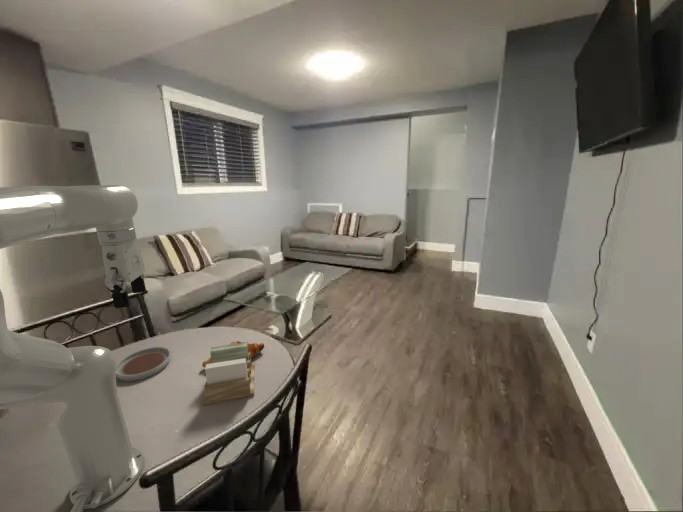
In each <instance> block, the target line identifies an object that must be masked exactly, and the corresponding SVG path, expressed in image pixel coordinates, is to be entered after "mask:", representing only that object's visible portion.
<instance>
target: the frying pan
mask: <svg viewBox="0 0 683 512" xmlns="http://www.w3.org/2000/svg"><path fill="white" fill-rule="evenodd" d="M172 356H173V354H172V351H171V350H170V349H169V348H167V347H164V346H154V347H153V346H152V347H147V348H143V349H140V350H137V351H134V352H132V353H129V354H128V355H126V356H124V357H123V358H121V359H120V360H119V361H118V362H116V379H118V380H121V381H122V382H123V381H124V382H134V381H140V380H143V379H146V378H150V377H151V376H154V375H157V374H158V373H159V372H161V371H163V370H164V369H165V368H166V367H168V366H169V364H170V362H171V359H172Z"/></svg>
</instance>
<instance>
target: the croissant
mask: <svg viewBox="0 0 683 512" xmlns="http://www.w3.org/2000/svg"><path fill="white" fill-rule="evenodd" d="M238 343H245V341H244V342H242V341H238V340H235V341H232V342H230V343H229V344H228V345H231V344H238ZM247 345H248V353H249V352H250V353H251V359H253V358H254V357H255V356H257V355H259V354H260V353H261V352H262V351H263V350H264V349H265V344H264V343H259V344H258V343H256V342H255V343H254V342H252V343H249V342H247ZM211 363H212V360H211V356H209V358H208V359H206V360H204V361H203V362H202V363H201V366H202V368H204V369H205V367H206V364H211Z"/></svg>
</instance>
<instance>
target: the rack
mask: <svg viewBox="0 0 683 512" xmlns="http://www.w3.org/2000/svg"><path fill="white" fill-rule="evenodd" d="M247 343H248V342H246V341H244V343H243V342H241V343H238V344H231V343H230V344H231V345H229V344H225V345H221V346H220V345H219V346H214V347H213V346H212V347H210V350H209V351H210V353H209V354H210V357H211V360H212V363H218V362H224V361H231V360H237V359H243V358H246V364H247V372H248V378H244V379H238V380H233V381H227V382H222V383H216V384H211V385H207V384H206V385H205V386H204V392H205V394H204V397H203V401H202V405H203V406H208V405H212V404H219V403H224V402H227V401H233V399H234V400H238V399H237V398H239V399H243V398H242V397H244V398H248V397H247V396H249V397H252V396H251V395H254V396H255V384H254V380H255V379H256V377H255V375H256V374H255V371H256V364H255V362H252V358H251V353H250V352H249V353H248V345H247Z"/></svg>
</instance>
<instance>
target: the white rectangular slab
mask: <svg viewBox="0 0 683 512" xmlns="http://www.w3.org/2000/svg"><path fill="white" fill-rule="evenodd" d="M204 372H205V378H206V385H211V384H216V383H222V382H227V381H233V380H238V379H244V378H248V372H247V364H246V358H243V359H237V360H231V361H224V362H218V363H211V364H206V367H205V368H204Z"/></svg>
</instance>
